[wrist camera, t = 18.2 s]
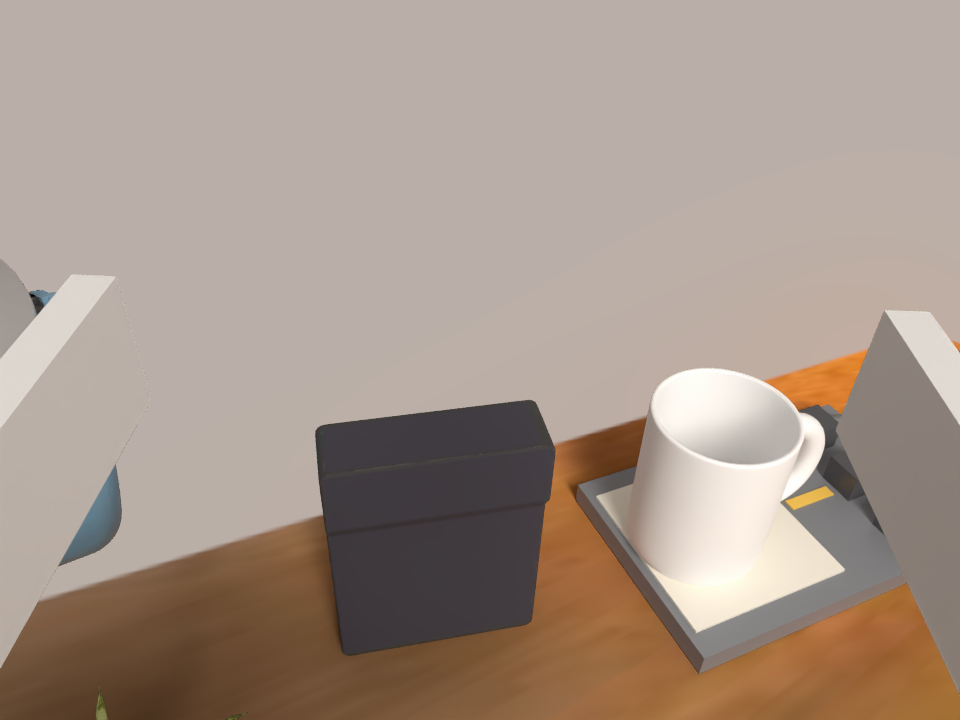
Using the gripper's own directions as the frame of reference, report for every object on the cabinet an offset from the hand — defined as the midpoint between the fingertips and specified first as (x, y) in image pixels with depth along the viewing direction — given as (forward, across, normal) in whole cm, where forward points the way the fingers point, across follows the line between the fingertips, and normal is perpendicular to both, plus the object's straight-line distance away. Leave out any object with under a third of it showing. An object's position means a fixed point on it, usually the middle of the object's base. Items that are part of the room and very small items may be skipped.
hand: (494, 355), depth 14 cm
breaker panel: (+25, +19, -32) cm, 45 cm away
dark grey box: (+16, -3, -32) cm, 36 cm away
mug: (+23, +15, -30) cm, 41 cm away
